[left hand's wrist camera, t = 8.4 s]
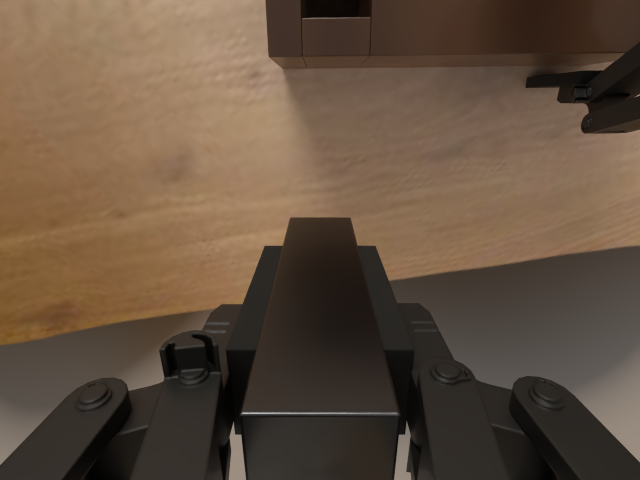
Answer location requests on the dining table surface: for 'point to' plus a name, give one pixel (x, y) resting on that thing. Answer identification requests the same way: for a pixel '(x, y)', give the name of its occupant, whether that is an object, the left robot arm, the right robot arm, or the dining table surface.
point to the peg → (320, 367)
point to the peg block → (454, 33)
